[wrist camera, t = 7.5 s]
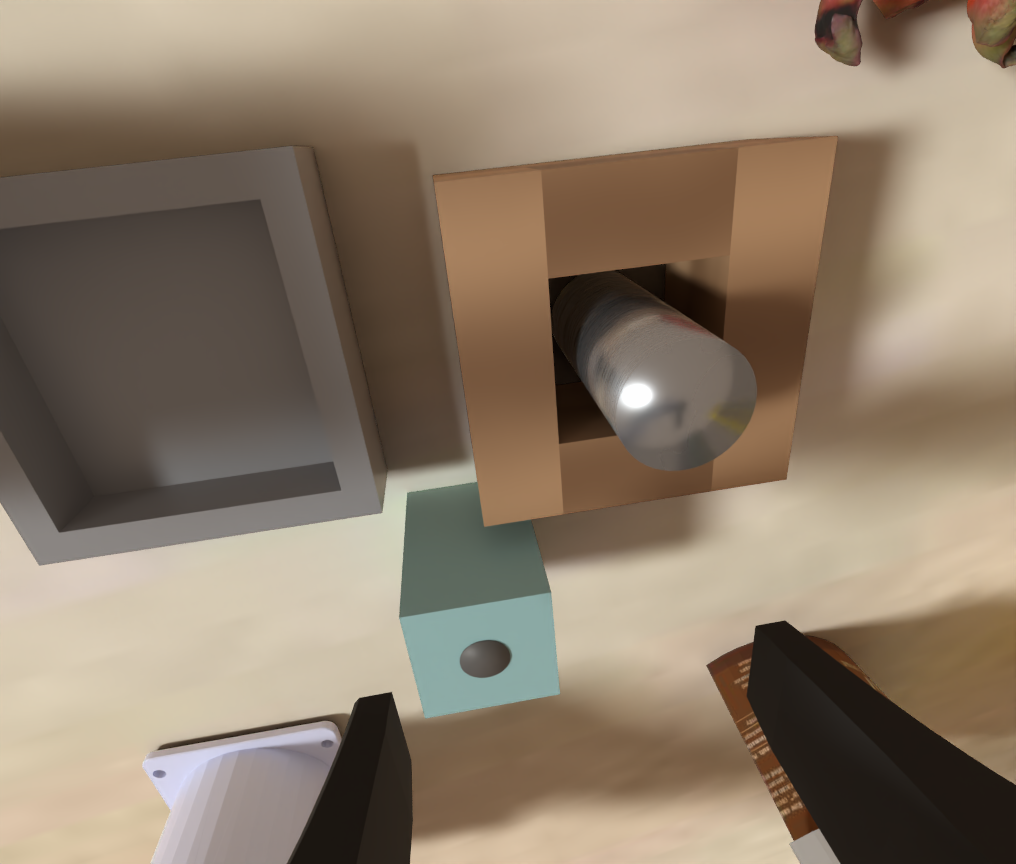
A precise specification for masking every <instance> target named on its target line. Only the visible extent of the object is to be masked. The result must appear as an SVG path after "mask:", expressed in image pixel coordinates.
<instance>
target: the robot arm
mask: <svg viewBox="0 0 1016 864" xmlns="http://www.w3.org/2000/svg"><path fill="white" fill-rule="evenodd" d="M747 699H748V701H749V703H750V705H751V707H752V710H753V712H754V714H755V716H756V718H757V721H758V723H759V725H760V727H761V729H762V731H763V733H764V735H765V737H766V740H767V742H768V744H769V746H770V748H771V750H772V752H773V753H774V755H775V757H776V758H777V760H778V762H779V763H780V765H781V767H782V768H783V770H784V772H785V773H786V775H787V777H788V778H789V780H790V782H791V783H792V785H793V787H794V788H795V790H796V792H797V793H798V795H799V797H800V798H801V800H802V802H803V803H804V805H805V807H806V808H807V810H808V811H809V813H810V815H811V816H812V818H813V820H814V821H815V823H816V825H817V826H818V828H819V830H820V831H821V833H822V834H823V836H824V838H825V839H826V841H827V843H828V844H829V846H830V848H831V849H832V851H833V852H834V854H835V856H836V857H837V859H838V861H839V862H840V864H1016V785H1015V784H1013V783H1012V782H1010V781H1008V780H1007V779H1005V778H1003V777H1002V776H1000V775H998V774H997V773H995V772H994V771H992V770H991V769H989V768H987V767H986V766H984V765H983V764H981V763H980V762H978V761H977V760H975V759H973V758H972V757H970V756H969V755H967V754H966V753H965V752H963V751H962V750H960V749H959V748H957V747H956V746H954V745H953V744H951V743H950V742H948V741H947V740H945V739H944V738H942V737H941V736H939V735H938V734H936V733H935V732H933V731H932V730H930V729H929V728H928V727H926V726H925V725H923V724H922V723H920V722H919V721H918V720H916V719H915V718H913V717H912V716H911V715H909V714H908V713H906V712H905V711H904V710H902V709H901V708H900V707H898V706H897V705H896V704H894V703H893V702H891V701H890V700H889V699H887V698H886V697H885V696H883V695H882V694H880V693H879V692H878V691H876V690H875V689H874V688H872V687H871V686H870V685H868V684H867V683H866V682H864V681H863V680H862V679H860V678H859V677H858V676H856V675H855V674H854V673H853V672H851V671H850V670H849V669H847V668H846V667H845V666H843V665H842V664H841V663H839V662H838V661H837V660H836V659H834V658H833V657H832V656H830V655H829V654H828V653H827V652H825V651H824V650H823V649H821V648H820V647H819V646H817V645H816V644H815V643H814V642H812V641H811V640H810V639H808V638H807V637H806V636H805V635H803V634H802V633H801V632H799V631H798V630H797V629H795V628H794V627H793V626H792V625H790V624H789V623H788V622H786V621H780V622H775V623H769V624H764V625H758V626H756V628H755V635H754V643H753V650H752V658H751V666H750V673H749V681H748V688H747ZM142 766H143V768H144V770H145V771H146V773H147V775H148V776H149V778H150V779H151V781H152V782H153V784H154V785H155V787H156V789H157V790H158V792H159V793H160V795H161V796H162V798H163V799H164V801H165V803H166V804H167V806H168V807H169V809H170V810H171V812H170V814H169V817H168V819H167V822H166V824H165V827H164V829H163V832H162V835H161V837H160V840H159V842H158V845H157V847H156V850H155V852H154V855H153V858H152V860H151V863H150V864H410V852H411V838H412V822H413V816H412V771H411V758H410V754H409V751H408V747H407V744H406V740H405V737H404V733H403V730H402V726H401V723H400V719H399V716H398V712H397V709H396V705H395V702H394V698H393V695H392V692H390V693H384V694H379V695H373V696H368V697H362V698H359V699H358V700H357V701H356V702H355V704H354V707H353V710H352V713H351V716H350V719H349V722H348V724H347V727H346V730H345V733H344V735H343V738H341V736H340V733H339V730H338V728H337V726H336V724H334V723H333V722H330V721H321V722H315V723H310V724H304V725H298V726H293V727H287V728H281V729H276V730H270V731H264V732H259V733H253V734H248V735H242V736H236V737H231V738H225V739H219V740H214V741H208V742H202V743H197V744H191V745H185V746H180V747H174V748H169V749H163V750H157V751H153V752H150V753H149V754H147V755H146V757H145V760H144V762H143V764H142Z"/></svg>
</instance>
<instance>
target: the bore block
mask: <svg viewBox="0 0 1016 864" xmlns="http://www.w3.org/2000/svg"><path fill="white" fill-rule="evenodd" d="M837 140H838V136H825V137H799V138H773V139H747V140H738V141H729V142H721V143H712V144H703V145H694V146H686V147H677V148H668V149H659V150H651V151H642V152H633V153H624V154H615V155H607V156H598V157H589V158H580V159H572V160H563V161H554V162H545V163H536V164H528V165H519V166H510V167H501V168H493V169H484V170H475V171H466V172H457V173H449V174H440V175H433V180H434V187H435V194H436V201H437V208H438V215H439V221H440V228H441V235H442V242H443V249H444V256H445V263H446V269H447V276H448V283H449V290H450V297H451V304H452V311H453V317H454V324H455V331H456V338H457V345H458V352H459V359H460V365H461V372H462V379H463V386H464V393H465V400H466V407H467V413H468V420H469V427H470V434H471V441H472V448H473V455H474V461H475V468H476V475H477V482H478V489H479V495H480V502H481V509H482V516H483V523H484V527H486V526H493V525H499V524H505V523H512V522H518V521H524V520H531V519H537V518H543V517H550V516H556V515H563V514H569V513H575V512H582V511H588V510H594V509H601V508H607V507H613V506H620V505H626V504H633V503H639V502H645V501H652V500H658V499H664V498H671V497H677V496H683V495H690V494H696V493H703V492H709V491H715V490H722V489H728V488H734V487H741V486H747V485H753V484H760V483H766V482H773V481H779V480H785V479H786V478H787V472H788V465H789V458H790V452H791V445H792V438H793V432H794V425H795V419H796V412H797V405H798V399H799V392H800V385H801V379H802V372H803V365H804V359H805V352H806V346H807V339H808V332H809V326H810V319H811V312H812V306H813V299H814V292H815V286H816V279H817V273H818V266H819V259H820V253H821V246H822V239H823V233H824V226H825V219H826V213H827V206H828V200H829V193H830V186H831V180H832V173H833V166H834V160H835V153H836V147H837ZM658 264H666V275H665V303H667V304H668V305H670V306H671V307H673V308H674V309H676V310H677V311H679V312H681V313H682V314H684V315H685V316H687V317H688V318H690V319H691V320H693V321H694V322H696V323H697V324H699V325H700V326H702V327H703V328H705V329H707V330H708V331H710V332H711V333H713V334H714V335H716V336H717V337H719V338H720V339H722V340H723V341H725V342H726V343H728V344H729V345H731V346H732V347H734V348H735V349H737V350H738V351H739V352H740V353H742V354H743V355H744V356H745V358H746V359H747V360H748V362H749V363H750V365H751V367H752V369H753V372H754V375H755V378H756V384H757V398H756V405H755V409H754V412H753V415H752V417H751V420H750V422H749V424H748V425H747V427H746V429H745V430H744V432H743V433H742V435H741V436H740V437H739V438H738V440H737V441H736V442H735V443H734V444H733V445H732V446H731V447H730V448H729V449H728V450H726V451H725V452H724V453H723V454H721V455H720V456H718V457H717V458H715V459H714V460H712V461H710V462H708V463H706V464H703V465H701V466H698V467H695V468H691V469H687V470H680V471H666V470H659V469H655V468H652V467H649V466H646V465H645V464H643V463H641V462H639V461H638V460H637V459H635V458H634V457H633V456H632V455H631V454H630V453H629V452H628V451H627V449H626V448H625V446H624V445H623V444H622V442H621V440H620V439H619V437H618V436H617V434H616V433H615V431H614V430H613V428H612V427H611V425H610V424H609V422H608V421H607V419H606V417H605V416H604V414H603V413H602V411H601V410H600V408H599V407H598V405H597V404H596V402H595V401H594V399H593V398H592V396H591V394H590V393H589V391H588V390H587V388H586V387H585V385H584V384H583V382H576V383H569V384H562V385H555V376H554V360H553V345H552V330H551V314H550V299H549V284H548V279H549V278H557V277H565V276H573V275H580V274H588V273H596V272H604V271H612V270H619V269H627V268H635V267H643V266H651V265H658Z"/></svg>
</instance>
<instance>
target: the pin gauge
mask: <svg viewBox="0 0 1016 864" xmlns="http://www.w3.org/2000/svg"><path fill="white" fill-rule="evenodd" d="M551 326H552V332H553V335H554V338H555V340H556V342H557V344H558V345H559V347H560V349H561V350H562V352H563V353H564V355H565V356H566V358H567V359H568V361H569V362H570V364H571V365H572V367H573V368H574V370H575V371H576V373H577V375H578V376H579V378H580V379H581V381H582V382H583V384H584V385H585V387H586V388H587V390H588V391H589V393H590V394H591V396H592V398H593V399H594V401H595V402H596V404H597V405H598V407H599V408H600V410H601V411H602V413H603V414H604V416H605V417H606V419H607V421H608V422H609V424H610V425H611V427H612V428H613V430H614V431H615V433H616V434H617V436H618V437H619V439H620V440H621V442H622V444H623V445H624V446H625V448H626V449H627V451H628V452H629V453H630V454H631V455H632V456H633V457H634V458H635V459H637V460H638V461H639V462H641V463H643V464H645V465H646V466H649V467H652V468H655V469H659V470H666V471H680V470H687V469H691V468H695V467H698V466H701V465H703V464H706V463H708V462H710V461H712V460H714V459H715V458H717V457H718V456H720V455H721V454H723V453H724V452H725V451H726V450H728V449H729V448H730V447H731V446H732V445H733V444H734V443H735V442H736V441H737V440H738V438H739V437H740V436H741V435H742V433H743V432H744V430H745V429H746V427H747V425H748V424H749V422H750V420H751V417H752V415H753V412H754V409H755V405H756V398H757V384H756V378H755V375H754V372H753V369H752V367H751V365H750V363H749V362H748V360H747V359H746V358H745V356H744V355H743V354H742V353H740V352H739V351H738V350H737V349H735V348H734V347H732V346H731V345H729V344H728V343H726V342H725V341H723V340H722V339H720V338H719V337H717V336H716V335H714V334H713V333H711V332H710V331H708V330H707V329H705V328H703V327H702V326H700V325H699V324H697V323H696V322H694V321H693V320H691V319H690V318H688V317H687V316H685V315H684V314H682V313H681V312H679V311H677V310H676V309H674V308H673V307H671V306H670V305H668V304H667V303H665V302H664V301H662V300H661V299H659V298H658V297H656V296H655V295H653V294H651V293H650V292H648V291H647V290H645V289H644V288H642V287H641V286H639V285H638V284H636V283H635V282H633V281H632V280H630V279H629V278H627V277H625V276H624V275H622V274H620V273H618V272H615V271H604V272H596V273H588V274H582V275H580V276H578V277H576V278H575V279H573V280H572V281H571V282H569V283H568V284H567V285H566V286H565V287H564V289H563V290H562V291H561V293H560V294H559V296H558V297H557V299H556V301H555V304H554V307H553V311H552V317H551Z"/></svg>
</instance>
